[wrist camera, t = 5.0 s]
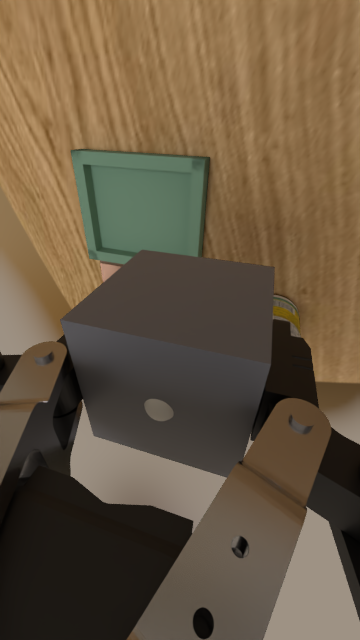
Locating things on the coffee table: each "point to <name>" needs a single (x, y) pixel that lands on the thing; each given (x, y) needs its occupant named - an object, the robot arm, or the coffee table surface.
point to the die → (175, 356)
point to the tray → (141, 202)
